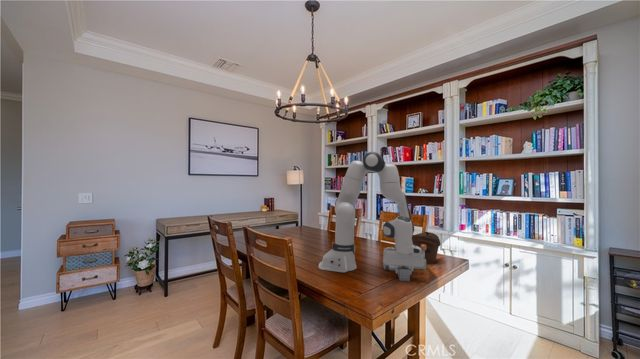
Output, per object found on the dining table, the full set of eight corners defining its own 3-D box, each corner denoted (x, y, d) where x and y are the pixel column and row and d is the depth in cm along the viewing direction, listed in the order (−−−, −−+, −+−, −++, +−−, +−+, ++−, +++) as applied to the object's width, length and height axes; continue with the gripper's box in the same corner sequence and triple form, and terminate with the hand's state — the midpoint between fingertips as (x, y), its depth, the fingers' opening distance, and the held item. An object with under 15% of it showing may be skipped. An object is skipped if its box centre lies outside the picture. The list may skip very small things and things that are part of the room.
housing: (399, 280, 139) (399, 266, 138) (397, 275, 146) (397, 261, 146) (409, 281, 138) (409, 266, 138) (407, 275, 146) (407, 261, 146)
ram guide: (411, 268, 157) (411, 259, 157) (410, 265, 163) (410, 256, 163) (426, 269, 156) (426, 260, 155) (424, 265, 161) (424, 257, 161)
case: (432, 255, 183) (432, 229, 182) (446, 265, 163) (445, 235, 162) (406, 255, 183) (406, 229, 183) (416, 265, 163) (416, 236, 163)
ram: (413, 262, 158) (413, 244, 158) (412, 260, 161) (412, 243, 161) (426, 262, 157) (427, 245, 157) (425, 261, 160) (425, 244, 160)
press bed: (384, 269, 154) (384, 259, 154) (382, 261, 170) (382, 251, 170) (413, 271, 152) (413, 260, 152) (408, 262, 168) (408, 253, 168)
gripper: (383, 248, 141) (383, 274, 141) (425, 250, 137) (424, 277, 137) (383, 245, 147) (383, 270, 147) (422, 247, 143) (422, 273, 144)
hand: (403, 274), depth 142 cm, fingers closed on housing, 5 cm apart
